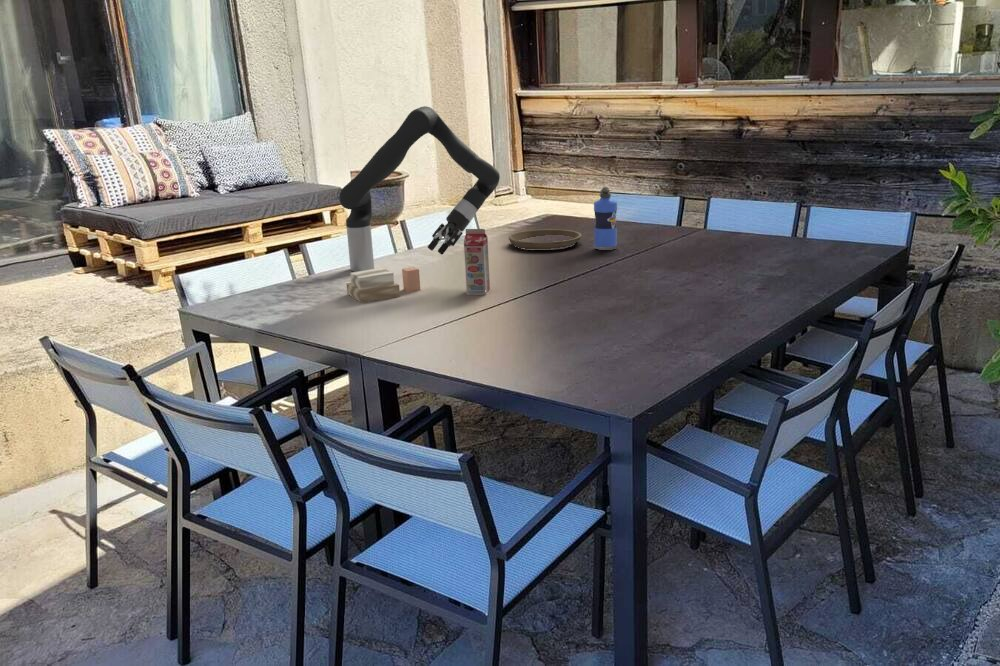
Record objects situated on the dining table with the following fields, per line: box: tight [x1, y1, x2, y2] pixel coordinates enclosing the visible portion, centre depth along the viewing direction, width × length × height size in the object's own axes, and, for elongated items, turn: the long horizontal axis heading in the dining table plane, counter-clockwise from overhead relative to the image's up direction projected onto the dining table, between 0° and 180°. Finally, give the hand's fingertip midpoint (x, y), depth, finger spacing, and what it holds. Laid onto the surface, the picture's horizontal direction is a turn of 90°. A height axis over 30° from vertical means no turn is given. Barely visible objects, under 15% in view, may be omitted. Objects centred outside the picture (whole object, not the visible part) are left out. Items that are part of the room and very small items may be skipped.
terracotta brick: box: [401, 266, 421, 293], centre depth 307 cm, size 4×4×8 cm
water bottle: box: [593, 186, 618, 247], centre depth 356 cm, size 9×9×25 cm
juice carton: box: [463, 228, 491, 296], centre depth 297 cm, size 7×7×22 cm
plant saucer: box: [508, 228, 583, 249], centre depth 372 cm, size 31×31×5 cm
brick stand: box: [345, 267, 401, 303], centre depth 301 cm, size 14×14×8 cm
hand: (434, 251), depth 309 cm, fingers open, 8 cm apart
